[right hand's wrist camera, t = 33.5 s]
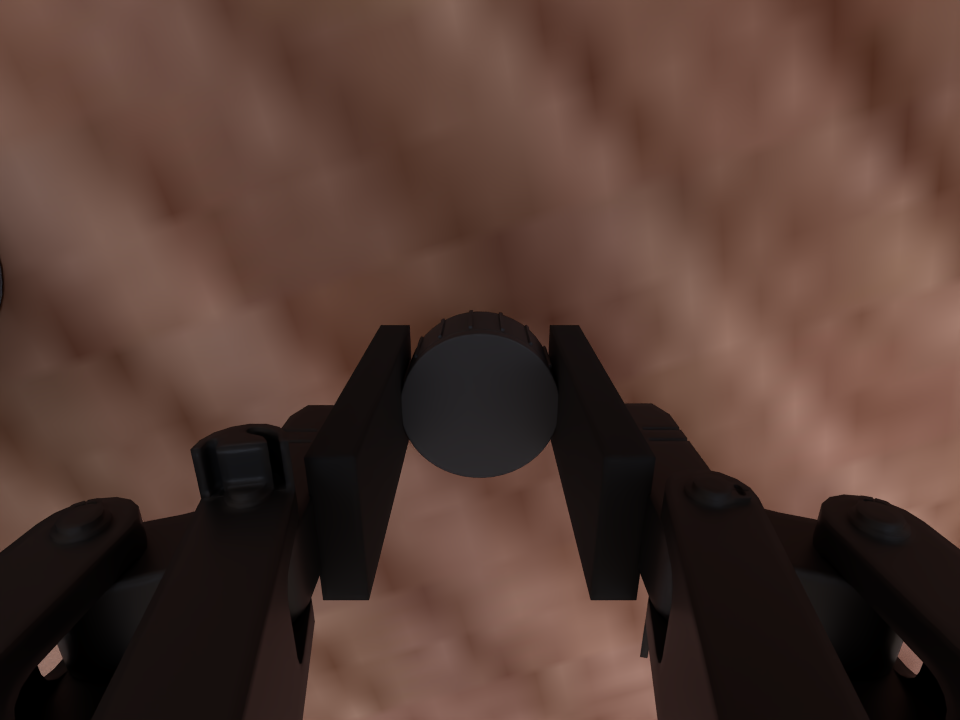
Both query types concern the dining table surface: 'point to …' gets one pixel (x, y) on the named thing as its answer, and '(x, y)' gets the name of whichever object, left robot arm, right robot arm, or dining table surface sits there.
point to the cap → (479, 395)
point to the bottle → (0, 284)
